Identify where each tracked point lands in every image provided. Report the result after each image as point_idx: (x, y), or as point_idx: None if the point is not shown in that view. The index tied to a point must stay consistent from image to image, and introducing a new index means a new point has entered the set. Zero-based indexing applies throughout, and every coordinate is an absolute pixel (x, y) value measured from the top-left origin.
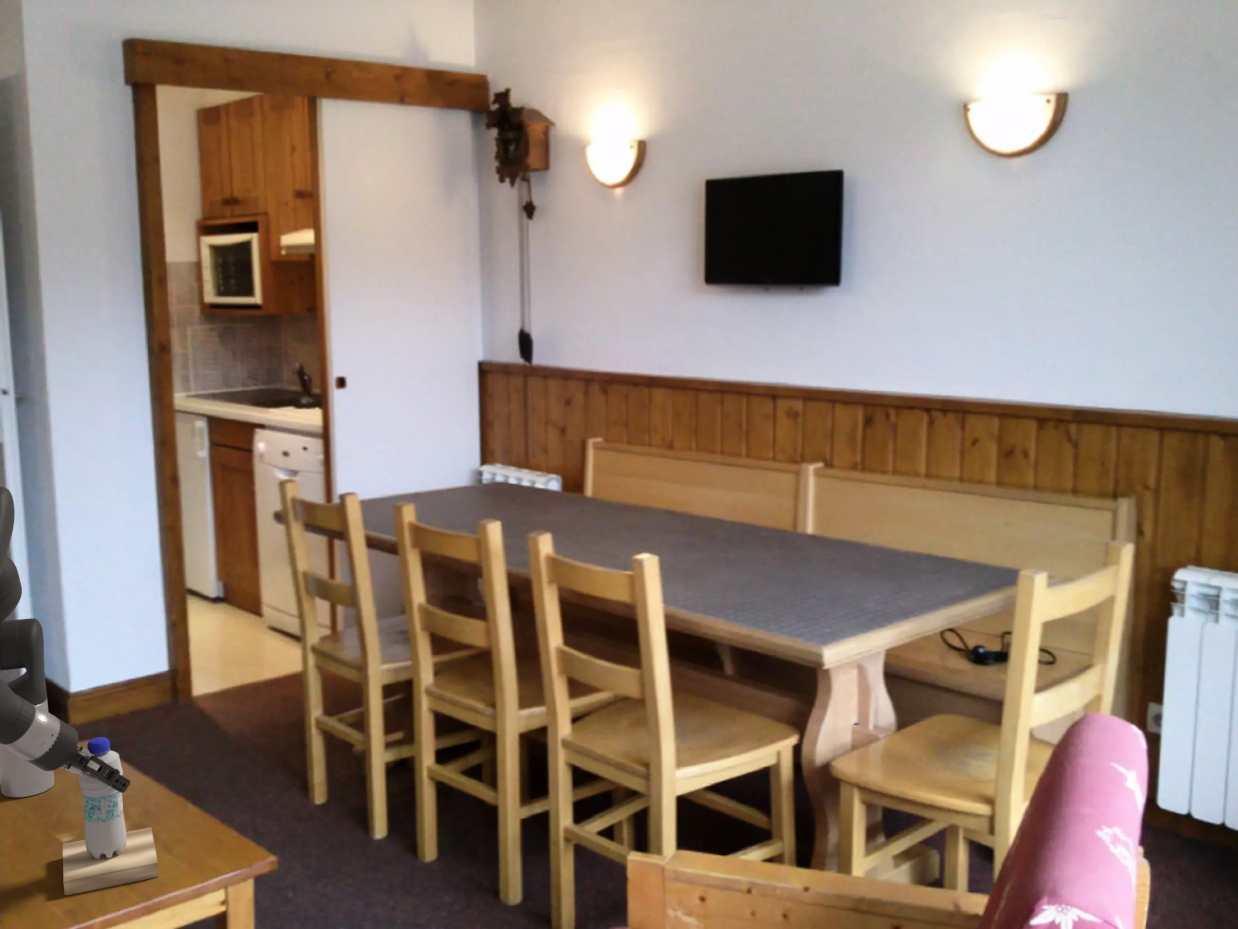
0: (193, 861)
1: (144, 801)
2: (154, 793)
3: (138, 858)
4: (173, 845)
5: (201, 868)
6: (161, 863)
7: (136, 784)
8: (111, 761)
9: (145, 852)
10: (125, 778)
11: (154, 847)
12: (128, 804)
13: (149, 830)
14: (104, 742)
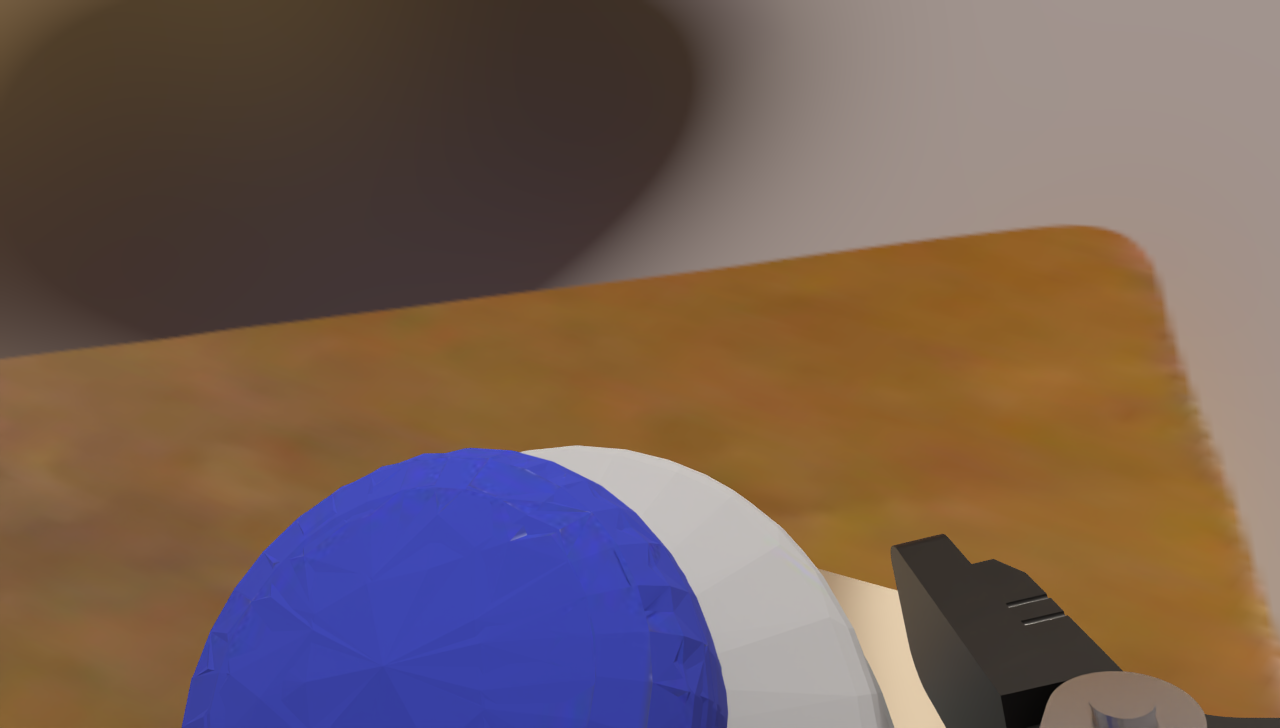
0: (954, 457)
1: (195, 419)
2: (169, 364)
3: (929, 705)
4: (714, 470)
5: (1059, 454)
6: None
7: (28, 391)
8: (849, 634)
9: (869, 640)
10: (976, 571)
11: (837, 576)
12: (157, 480)
13: None
14: (646, 587)
